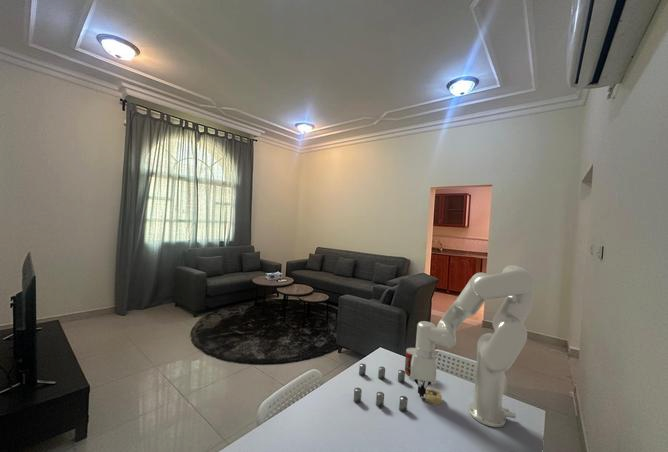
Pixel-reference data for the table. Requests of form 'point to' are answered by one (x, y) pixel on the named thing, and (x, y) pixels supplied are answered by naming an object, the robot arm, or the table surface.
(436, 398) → the brass nut
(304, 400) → the table surface
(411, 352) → the canned food
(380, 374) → the posts
